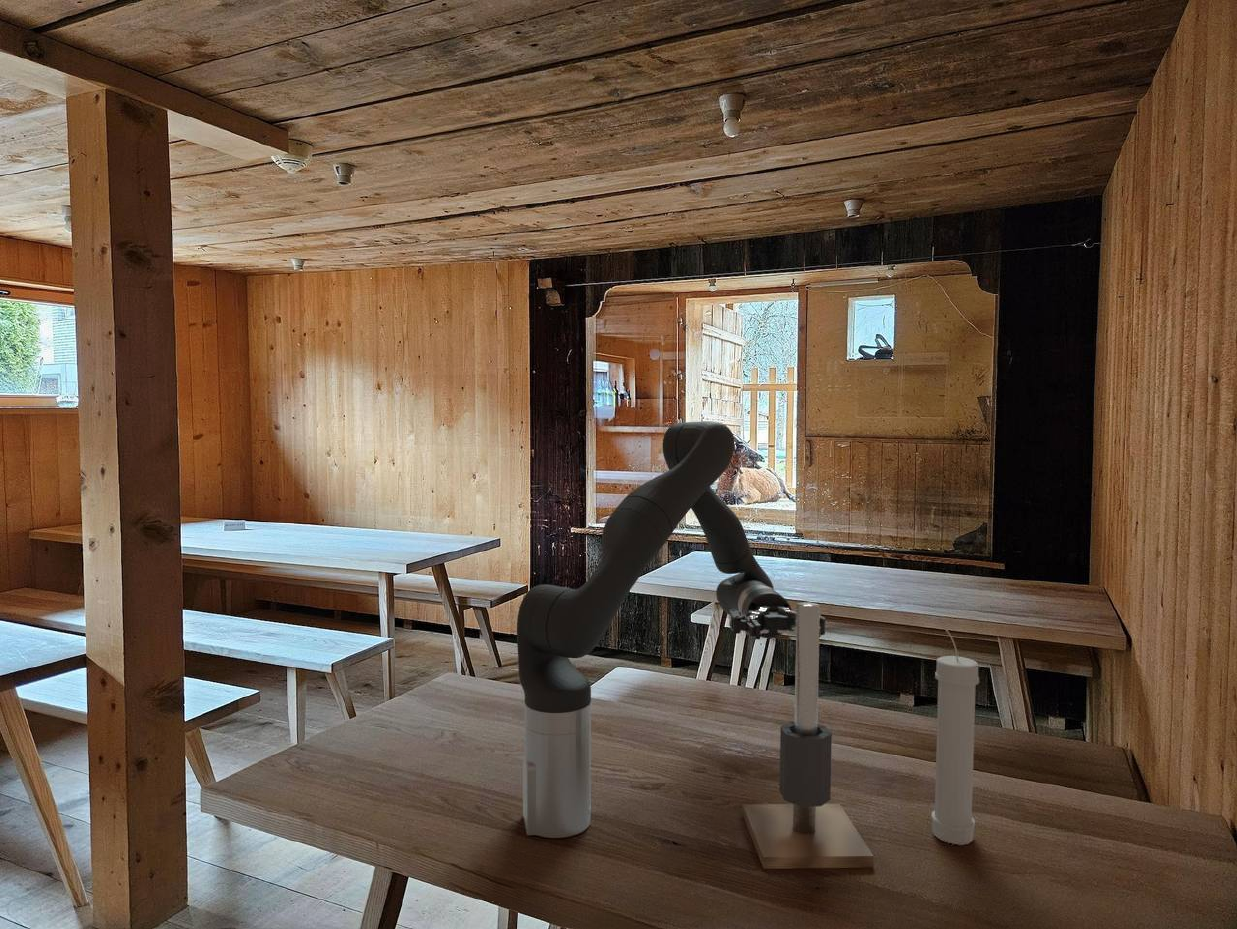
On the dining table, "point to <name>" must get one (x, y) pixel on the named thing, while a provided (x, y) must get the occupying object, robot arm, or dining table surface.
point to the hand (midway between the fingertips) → (787, 633)
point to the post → (793, 829)
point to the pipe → (955, 748)
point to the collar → (805, 766)
